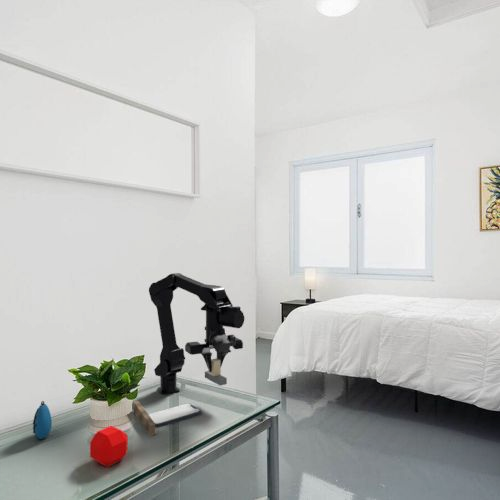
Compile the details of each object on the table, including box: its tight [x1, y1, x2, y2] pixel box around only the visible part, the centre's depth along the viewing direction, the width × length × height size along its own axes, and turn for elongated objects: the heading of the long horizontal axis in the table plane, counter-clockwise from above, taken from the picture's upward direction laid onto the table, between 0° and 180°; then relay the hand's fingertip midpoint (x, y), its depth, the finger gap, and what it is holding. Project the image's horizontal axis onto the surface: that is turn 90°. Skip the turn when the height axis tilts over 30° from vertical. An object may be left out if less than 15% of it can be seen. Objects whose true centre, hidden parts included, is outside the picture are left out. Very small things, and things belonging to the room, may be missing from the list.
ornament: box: [32, 400, 53, 440], centre depth 120 cm, size 8×5×10 cm, turn 18°
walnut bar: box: [133, 400, 156, 437], centre depth 130 cm, size 20×2×3 cm, turn 28°
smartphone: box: [148, 403, 202, 428], centre depth 134 cm, size 9×2×16 cm
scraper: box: [204, 357, 228, 387], centre depth 144 cm, size 10×2×7 cm, turn 35°
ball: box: [89, 425, 129, 468], centre depth 107 cm, size 8×8×8 cm
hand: (214, 371), depth 145 cm, fingers closed on scraper, 3 cm apart
